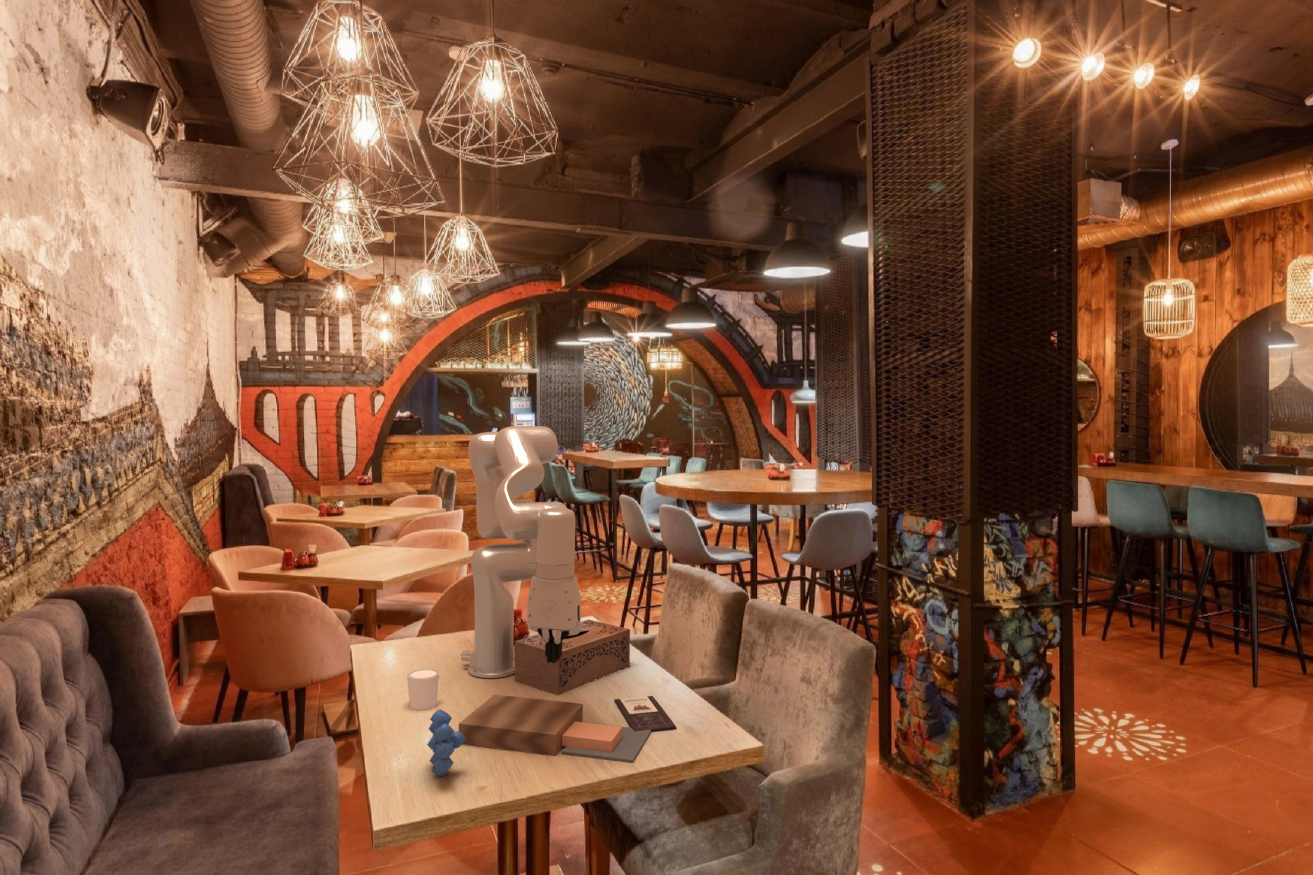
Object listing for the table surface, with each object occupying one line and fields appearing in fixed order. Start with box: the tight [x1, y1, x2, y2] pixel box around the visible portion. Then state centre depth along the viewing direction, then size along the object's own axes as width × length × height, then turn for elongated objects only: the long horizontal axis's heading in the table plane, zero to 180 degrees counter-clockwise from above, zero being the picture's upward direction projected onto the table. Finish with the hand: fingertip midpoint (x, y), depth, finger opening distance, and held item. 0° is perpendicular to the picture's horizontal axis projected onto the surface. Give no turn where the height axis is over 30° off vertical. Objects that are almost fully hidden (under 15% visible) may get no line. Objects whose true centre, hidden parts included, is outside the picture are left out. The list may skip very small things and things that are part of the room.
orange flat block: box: [562, 722, 623, 752], centre depth 151 cm, size 10×7×2 cm
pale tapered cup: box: [406, 668, 440, 711], centre depth 170 cm, size 7×7×7 cm
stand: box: [458, 694, 584, 756], centre depth 156 cm, size 20×16×4 cm
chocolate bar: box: [613, 695, 677, 733], centre depth 166 cm, size 9×1×18 cm
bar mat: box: [561, 722, 652, 764], centre depth 152 cm, size 14×14×1 cm
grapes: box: [427, 709, 466, 777], centre depth 138 cm, size 12×7×12 cm, turn 24°
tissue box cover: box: [514, 618, 631, 696], centre depth 191 cm, size 26×14×10 cm, turn 142°
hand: (553, 660), depth 155 cm, fingers closed
